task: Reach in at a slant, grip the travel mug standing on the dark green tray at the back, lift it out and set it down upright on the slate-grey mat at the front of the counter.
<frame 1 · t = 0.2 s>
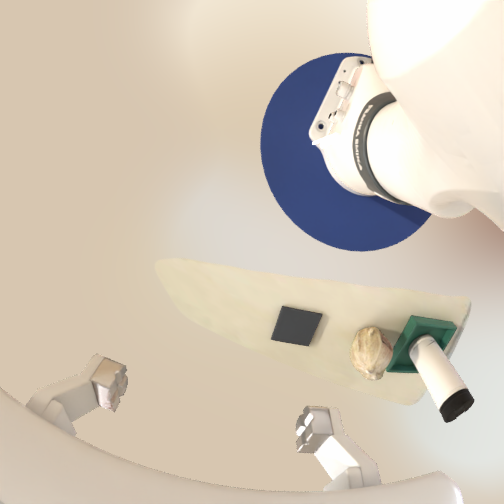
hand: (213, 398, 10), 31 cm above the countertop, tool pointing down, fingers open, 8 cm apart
tray: (419, 343, 46), on the countertop
travel mug: (419, 344, 46), resting on tray
mat: (295, 326, 46), on the countertop
garlic bulb: (365, 336, 46), on the countertop
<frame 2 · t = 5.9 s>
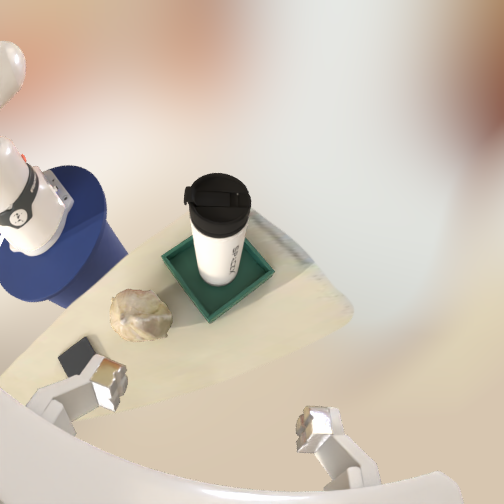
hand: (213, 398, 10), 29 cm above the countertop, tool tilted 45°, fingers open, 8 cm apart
tray: (217, 269, 44), on the countertop
travel mug: (217, 268, 44), resting on tray
mat: (82, 365, 34), on the countertop
garlic bulb: (145, 320, 39), on the countertop
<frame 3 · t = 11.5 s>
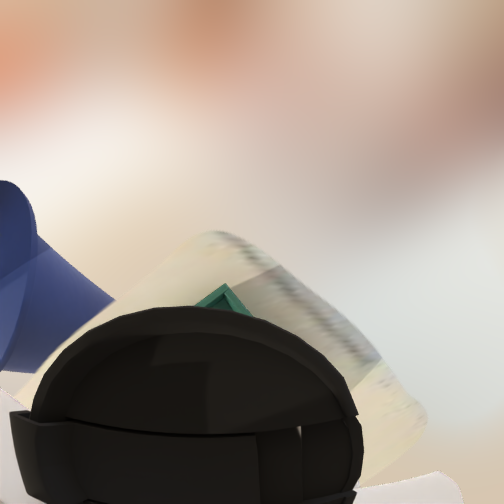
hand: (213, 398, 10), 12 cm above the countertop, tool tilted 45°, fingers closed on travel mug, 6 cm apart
tray: (213, 388, 21), on the countertop
travel mug: (213, 388, 21), resting on tray, touching gripper
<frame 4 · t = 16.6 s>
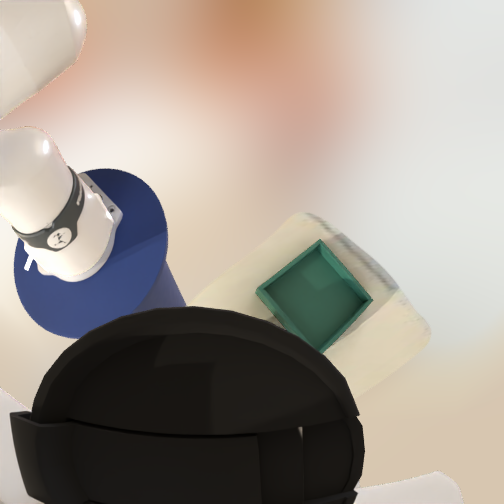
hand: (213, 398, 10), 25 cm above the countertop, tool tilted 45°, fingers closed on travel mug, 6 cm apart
tray: (314, 299, 40), on the countertop
travel mug: (212, 388, 21), point 14 cm above the countertop, touching gripper
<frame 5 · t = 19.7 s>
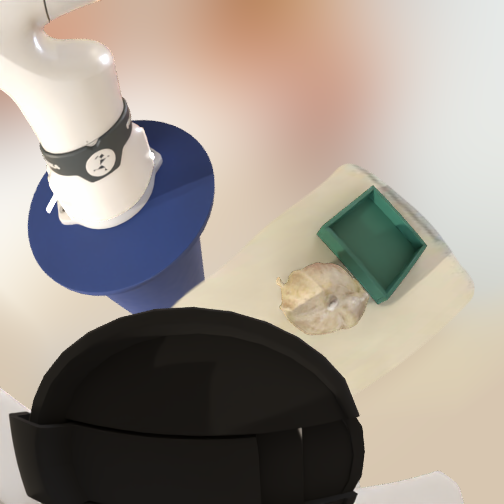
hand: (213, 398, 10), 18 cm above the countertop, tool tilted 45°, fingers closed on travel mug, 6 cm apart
tray: (373, 243, 37), on the countertop
travel mug: (212, 388, 21), point 7 cm above the countertop, touching gripper
garlic bulb: (306, 307, 32), on the countertop
when the fingers open (12 cm above the countertop, at t = 22.1 s): travel mug stays where it is, resting on mat.
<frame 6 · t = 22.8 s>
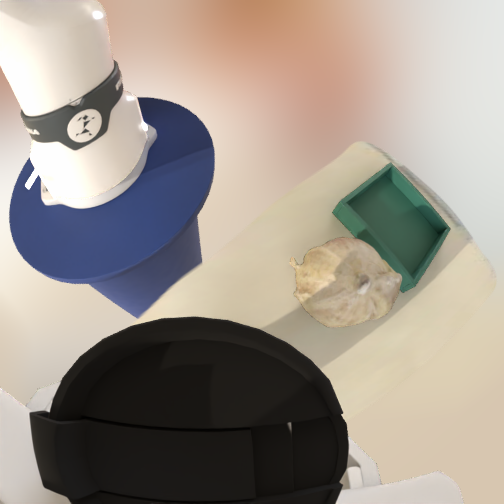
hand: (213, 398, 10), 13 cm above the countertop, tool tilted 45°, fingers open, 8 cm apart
tray: (394, 225, 31), on the countertop
travel mug: (212, 389, 21), resting on mat
garlic bulb: (324, 295, 27), on the countertop
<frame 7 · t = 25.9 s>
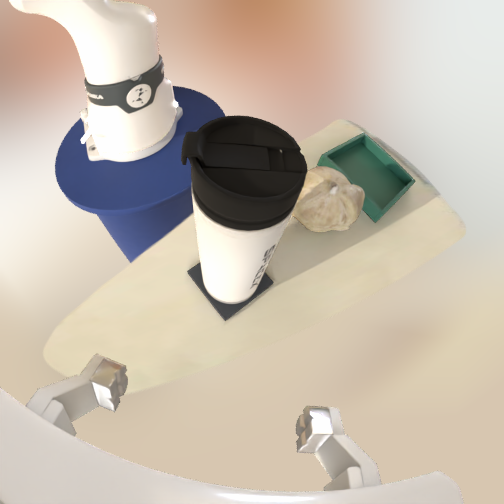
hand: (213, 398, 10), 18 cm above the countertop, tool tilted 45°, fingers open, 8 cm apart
tray: (367, 176, 41), on the countertop
travel mug: (229, 278, 31), resting on mat
mat: (230, 278, 31), on the countertop
garlic bulb: (312, 218, 36), on the countertop
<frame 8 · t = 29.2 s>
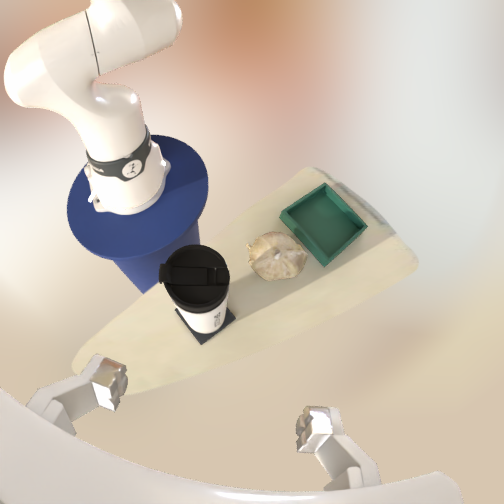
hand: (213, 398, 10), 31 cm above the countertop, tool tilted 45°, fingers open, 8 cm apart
tray: (323, 224, 52), on the countertop
travel mug: (204, 314, 42), resting on mat
mat: (205, 314, 43), on the countertop
garlic bulb: (269, 266, 48), on the countertop
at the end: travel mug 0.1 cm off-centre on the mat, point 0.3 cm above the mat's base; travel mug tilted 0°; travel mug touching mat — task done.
